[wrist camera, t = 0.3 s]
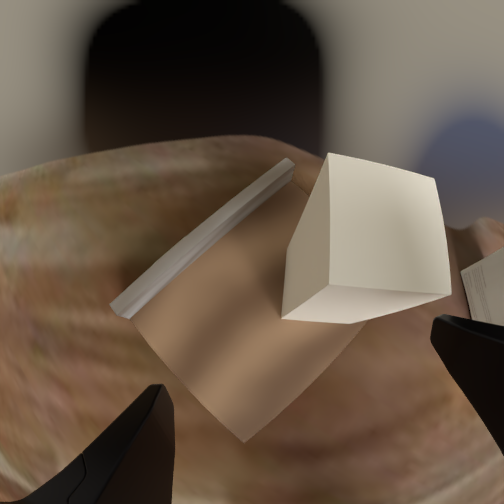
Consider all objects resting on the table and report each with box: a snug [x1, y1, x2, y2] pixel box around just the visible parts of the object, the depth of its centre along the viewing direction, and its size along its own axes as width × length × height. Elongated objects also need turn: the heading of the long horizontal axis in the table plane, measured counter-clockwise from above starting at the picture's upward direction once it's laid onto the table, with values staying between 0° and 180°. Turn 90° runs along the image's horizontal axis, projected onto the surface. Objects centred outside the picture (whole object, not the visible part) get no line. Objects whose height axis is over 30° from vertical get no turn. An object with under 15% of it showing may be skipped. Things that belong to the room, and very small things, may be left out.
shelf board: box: [109, 157, 369, 443], centre depth 20 cm, size 14×18×4 cm
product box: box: [281, 153, 451, 324], centre depth 15 cm, size 6×6×12 cm
